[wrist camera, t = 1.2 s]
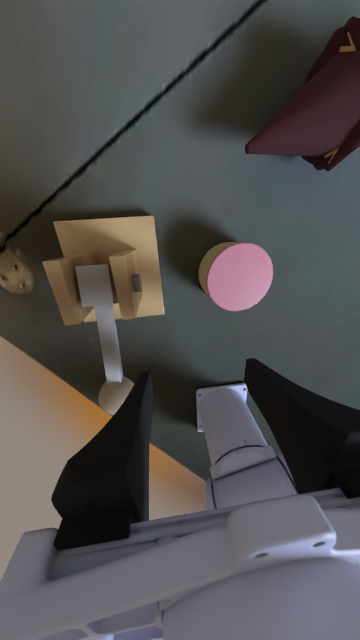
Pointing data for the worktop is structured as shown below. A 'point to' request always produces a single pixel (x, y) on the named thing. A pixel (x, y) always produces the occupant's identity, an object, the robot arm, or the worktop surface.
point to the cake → (236, 274)
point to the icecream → (320, 108)
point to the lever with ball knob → (105, 331)
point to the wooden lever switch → (116, 250)
